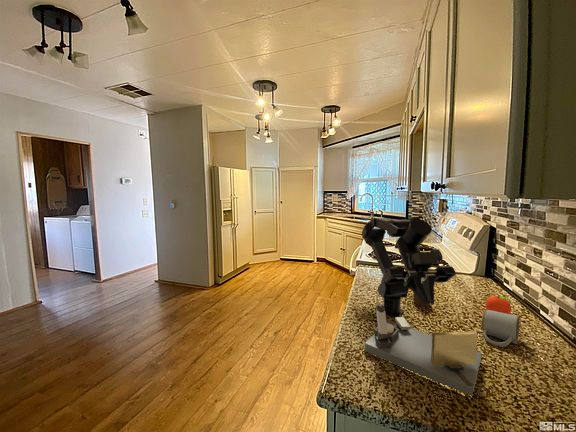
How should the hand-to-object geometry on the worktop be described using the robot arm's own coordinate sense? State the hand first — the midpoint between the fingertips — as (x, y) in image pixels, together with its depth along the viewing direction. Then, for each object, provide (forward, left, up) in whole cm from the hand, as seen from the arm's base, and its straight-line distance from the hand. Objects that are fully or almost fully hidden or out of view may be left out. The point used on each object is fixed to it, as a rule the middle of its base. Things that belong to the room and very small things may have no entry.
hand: (430, 304), depth 67 cm
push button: (+4, -10, -10) cm, 15 cm away
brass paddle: (+7, +7, -11) cm, 15 cm away
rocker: (-3, -8, -10) cm, 13 cm away
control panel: (+4, -1, -14) cm, 14 cm away
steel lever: (+9, -9, -9) cm, 15 cm away
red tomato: (-38, +13, -14) cm, 42 cm away
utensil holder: (-31, -10, -14) cm, 35 cm away
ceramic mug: (-20, +14, -14) cm, 28 cm away
